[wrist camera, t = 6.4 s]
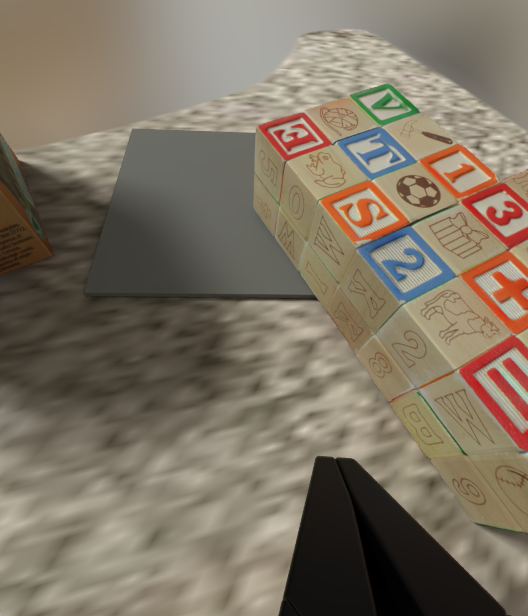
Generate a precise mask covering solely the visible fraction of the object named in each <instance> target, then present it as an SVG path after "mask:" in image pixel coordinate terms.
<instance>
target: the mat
mask: <svg viewBox="0 0 528 616" xmlns="http://www.w3.org/2000/svg"><path fill="white" fill-rule="evenodd" d="M255 136H256V133H240V132H212V131H184V130H156V129H132V132H131V135H130V138H129V142H128V145H127V148H126V152H125V155H124V158H123V162H122V165H121V168H120V172H119V175H118V179H117V182H116V185H115V189H114V192H113V195H112V199H111V202H110V205H109V209H108V212H107V215H106V219H105V222H104V225H103V229H102V232H101V236H100V239H99V242H98V246H97V249H96V252H95V256H94V259H93V262H92V266H91V269H90V272H89V276H88V279H87V282H86V286H85V289H84V294H85V295H86V296H121V297H240V298H317V297H316V296H315V294H314V293H313V291H312V290H311V289H310V287H309V286H308V284H307V283H306V281H305V280H304V278H303V277H302V276H301V274H300V271H298V270H297V269H296V268H295V266H294V265H293V263H292V262H291V260H290V259H289V257H288V256H287V255H286V253H285V252H284V250H283V249H282V248H281V246H280V245H279V243H278V242H277V240H276V239H275V237H274V236H273V235H272V234H271V232H270V231H269V229H268V228H267V227H266V225H265V224H264V222H263V221H262V219H261V218H260V216H259V215H258V214H257V212H256V211H255V209H254V205H253V202H254V175H255V171H254V164H255Z"/></svg>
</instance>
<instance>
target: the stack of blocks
mask: <svg viewBox="0 0 528 616" xmlns="http://www.w3.org/2000/svg"><path fill="white" fill-rule="evenodd" d="M254 171H255V175H254V202H253V205H254V209H255V211H256V212H257V214H258V215H259V216H260V218H261V219H262V221H263V222H264V224H265V225H266V227H267V228H268V229H269V231H270V232H271V234H272V235H273V236H274V237H275V239H276V240H277V242H278V243H279V245H280V246H281V248H282V249H283V250H284V252H285V253H286V255H287V256H288V257H289V259H290V260H291V262H292V263H293V265H294V266H295V268H296V269H297V270H298V271H300V274H301V276H302V277H303V278H304V280H305V281H306V283H307V284H308V286H309V287H310V289H311V290H312V291H313V293H314V294H315V296H316V297H317V298H318V300H319V301H320V303H321V304H322V305H323V307H324V308H325V309H326V311H327V313H328V314H329V316H330V317H331V319H332V320H333V321H334V323H335V324H336V326H337V327H338V329H339V330H340V332H341V333H342V334H343V335H344V337H345V338H346V340H347V342H348V343H349V345H350V347H351V348H352V349H353V350H354V352H355V353H356V356H357V358H358V359H359V361H360V362H361V364H362V365H363V367H364V368H365V369H366V371H367V372H368V374H369V375H370V377H371V378H372V380H373V381H374V382H375V384H376V385H377V387H378V388H379V389H380V391H381V392H382V394H383V395H384V396H385V398H386V399H387V400H388V401H389V403H390V404H391V406H392V408H393V410H394V411H395V412H396V414H397V415H398V417H399V418H400V419H401V421H402V422H403V424H404V425H405V427H406V428H407V430H408V431H409V432H410V434H411V435H412V437H413V438H414V440H415V441H416V443H417V444H418V445H419V447H420V448H421V450H422V451H423V452H424V454H425V455H426V456H427V457H428V458H430V460H431V462H432V464H433V465H434V467H435V468H436V470H437V471H438V473H439V474H440V475H441V477H442V478H443V480H444V481H445V482H446V484H447V485H448V487H449V488H450V490H451V491H452V492H453V494H454V495H455V497H456V498H457V499H458V501H459V502H460V504H461V505H462V507H463V508H464V510H465V511H466V512H467V514H468V515H469V516H470V518H471V519H472V521H473V522H474V523H478V524H482V525H487V526H492V527H497V528H501V529H506V530H510V531H516V532H526V533H527V534H528V169H527V170H525V171H523V172H521V173H519V174H516V175H513V176H511V177H509V178H507V179H505V180H503V181H502V182H501V183H500V182H499V180H498V178H497V177H496V175H495V174H494V173H493V172H492V171H491V170H490V169H488V168H487V167H486V166H485V165H484V164H483V163H482V162H481V161H480V160H479V159H478V158H476V157H475V156H474V155H473V154H472V153H471V152H470V151H468V150H467V149H466V148H465V147H463V146H462V145H460V144H458V142H457V141H456V140H455V139H454V138H453V137H452V136H450V135H449V134H448V133H447V132H446V131H445V130H443V129H442V128H441V127H440V126H439V125H438V124H437V123H435V122H434V121H433V120H432V119H430V118H429V117H428V116H427V115H426V114H425V113H423V112H419V110H418V109H417V108H416V107H415V106H414V105H413V104H412V103H411V102H410V101H408V100H407V99H406V98H405V97H404V96H403V95H401V94H400V93H399V92H398V91H397V90H396V89H395V88H394V87H393V86H392V85H390V84H384V85H381V86H377V87H374V88H370V89H367V90H364V91H361V92H357V93H354V94H351V95H350V96H348V98H347V99H341V100H338V101H334V102H331V103H328V104H325V105H321V106H317V107H314V108H310V109H307V110H305V111H304V112H303V113H298V114H294V115H291V116H287V117H283V118H280V119H277V120H274V121H270V122H267V123H264V124H261V125H258V126H257V127H256V136H255V164H254Z"/></svg>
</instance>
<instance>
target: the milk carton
mask: <svg viewBox="0 0 528 616" xmlns="http://www.w3.org/2000/svg"><path fill="white" fill-rule="evenodd" d="M51 256H53V253H52V250H51V248H50V245H49V242H48V239H47V237H46V234H45V231H44V228H43V226H42V223H41V220H40V217H39V215H38V212H37V209H36V206H35V204H34V201H33V198H32V195H31V193H30V190H29V187H28V184H27V182H26V179H25V176H24V173H23V170H22V168H21V165H20V162H19V160H18V158H17V157H16V155H15V154H14V153H13V151H12V150H11V148H10V147H9V145H8V144H7V142H6V141H5V140H4V138H3V137H2V135H1V134H0V275H2V274H5V273H7V272H10V271H13V270H16V269H18V268H21V267H24V266H27V265H29V264H32V263H35V262H38V261H40V260H43V259H46V258H49V257H51Z"/></svg>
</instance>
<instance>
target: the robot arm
mask: <svg viewBox="0 0 528 616" xmlns="http://www.w3.org/2000/svg"><path fill="white" fill-rule="evenodd" d="M278 616H511V615H507V613H506V610H505V609H504V608H503V607H502V606H501V605H500V604H499V603H498V602H497V601H496V600H495V599H494V598H493V597H492V596H491V595H490V594H489V593H488V592H487V591H486V590H485V589H484V588H483V587H482V586H481V585H480V584H479V583H478V582H477V581H476V580H475V579H474V578H473V577H472V576H471V575H470V574H469V573H468V572H467V571H466V570H465V569H464V568H463V567H462V566H461V565H460V564H459V563H458V562H457V561H456V560H455V559H454V558H453V557H452V556H451V555H450V554H449V553H448V552H447V551H446V550H445V549H444V548H443V547H442V546H441V545H440V544H439V543H438V542H437V541H436V540H435V539H434V538H433V537H432V536H431V535H430V534H429V533H428V532H427V531H426V530H425V529H424V528H423V527H422V526H421V525H420V524H419V523H418V522H417V521H416V520H415V519H414V518H413V517H412V516H411V515H410V514H409V513H408V512H407V511H406V510H405V509H404V508H403V507H402V506H401V505H400V504H399V503H398V502H397V501H396V500H395V499H394V498H393V497H392V496H391V495H390V494H389V493H388V492H387V491H386V490H385V489H384V488H383V487H382V486H381V485H380V484H379V483H378V482H377V481H376V480H375V479H374V478H373V477H372V476H371V475H370V474H369V473H368V472H367V471H366V470H365V469H364V468H363V467H362V466H361V465H360V464H359V463H358V462H357V461H355V460H354V459H352V458H340V457H337V458H336V459H334V458H333V457H327V456H317V457H316V459H315V463H314V467H313V472H312V476H311V480H310V484H309V489H308V493H307V497H306V501H305V506H304V510H303V514H302V519H301V523H300V527H299V531H298V536H297V540H296V544H295V548H294V553H293V557H292V561H291V565H290V570H289V574H288V578H287V582H286V587H285V591H284V595H283V601H282V603H281V607H280V611H279V615H278Z"/></svg>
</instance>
